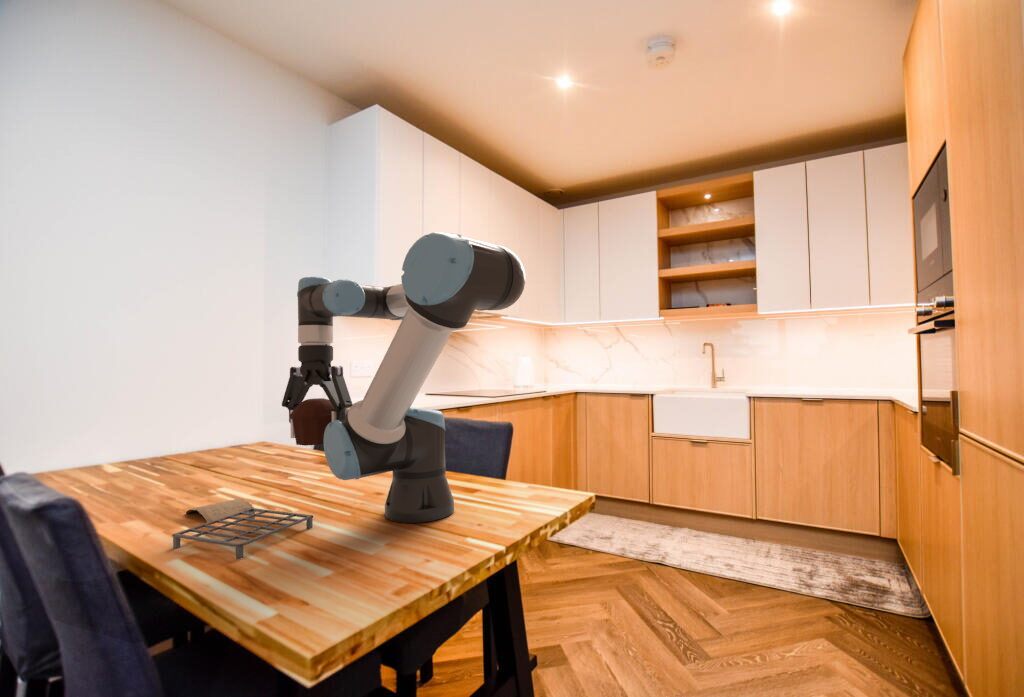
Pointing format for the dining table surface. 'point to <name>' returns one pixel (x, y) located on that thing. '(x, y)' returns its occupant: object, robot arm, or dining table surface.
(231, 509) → the curved bark piece
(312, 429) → the muffin
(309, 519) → the cooling rack
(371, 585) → the dining table surface
